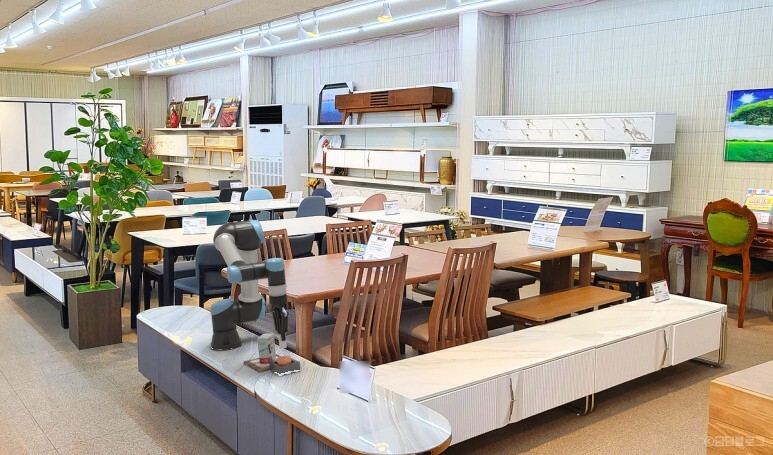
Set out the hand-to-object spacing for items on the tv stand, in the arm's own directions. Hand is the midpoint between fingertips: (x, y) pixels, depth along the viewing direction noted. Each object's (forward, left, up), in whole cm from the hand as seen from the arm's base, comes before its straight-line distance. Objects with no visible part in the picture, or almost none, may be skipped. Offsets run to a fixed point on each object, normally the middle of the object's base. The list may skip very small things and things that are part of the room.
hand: (283, 347), depth 296 cm
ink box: (-7, -15, -10) cm, 19 cm away
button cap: (0, 0, -9) cm, 9 cm away
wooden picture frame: (-7, -15, -11) cm, 19 cm away
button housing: (0, 0, -11) cm, 11 cm away
